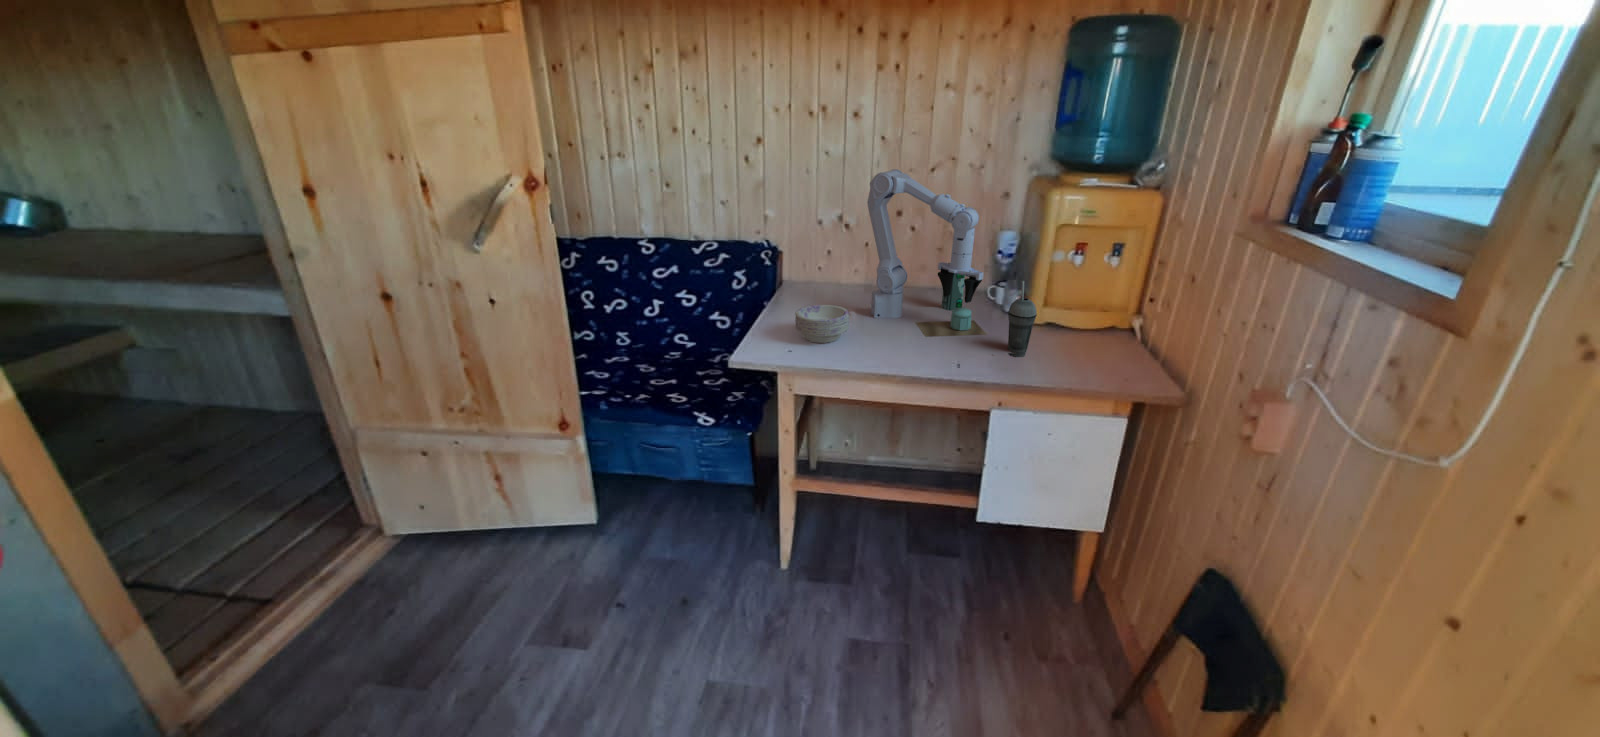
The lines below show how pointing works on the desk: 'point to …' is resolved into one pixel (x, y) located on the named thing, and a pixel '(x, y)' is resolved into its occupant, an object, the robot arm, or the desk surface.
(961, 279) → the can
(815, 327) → the paper bowls
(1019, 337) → the beverage cup
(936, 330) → the board
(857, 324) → the desk surface
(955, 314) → the cap
